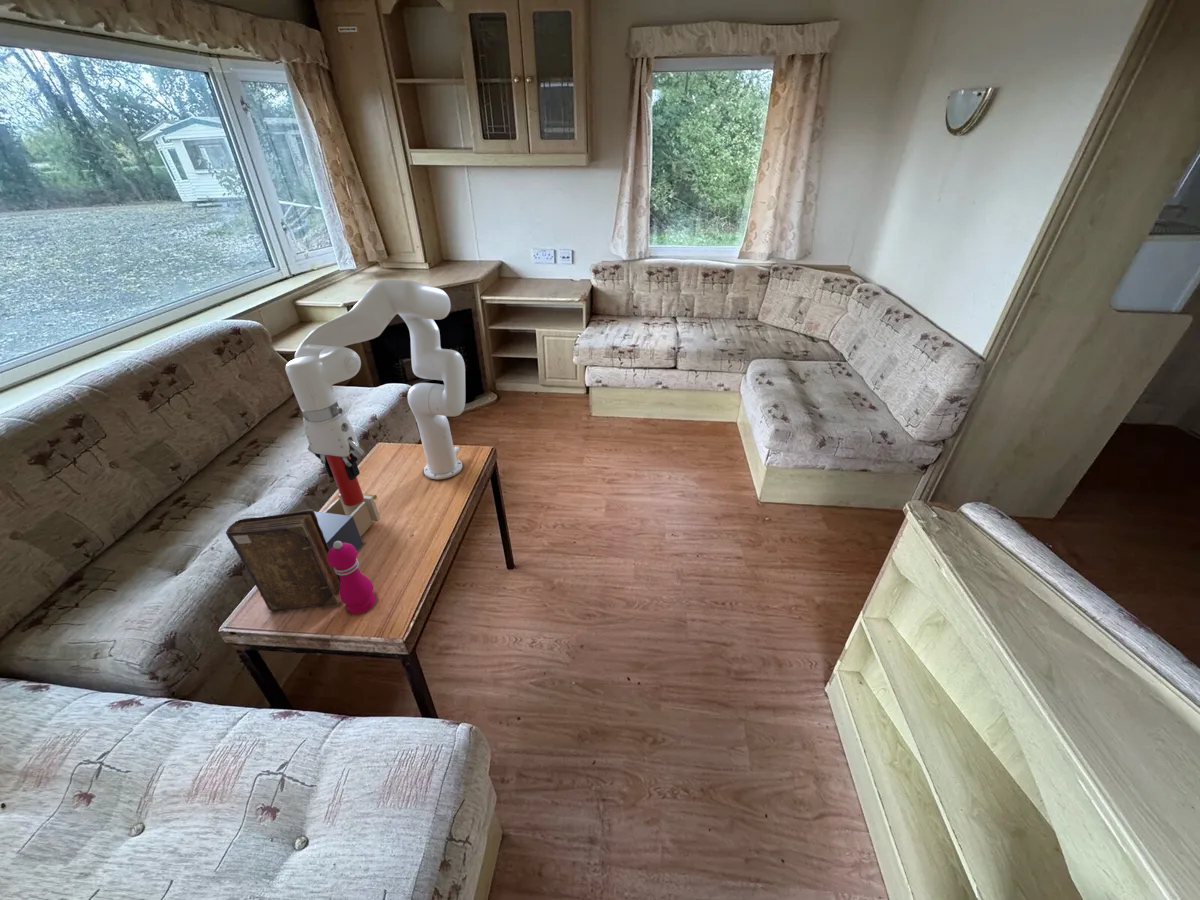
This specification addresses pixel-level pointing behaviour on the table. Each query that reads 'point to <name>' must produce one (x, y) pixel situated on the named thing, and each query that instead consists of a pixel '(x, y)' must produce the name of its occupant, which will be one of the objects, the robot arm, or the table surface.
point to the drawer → (357, 511)
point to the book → (287, 559)
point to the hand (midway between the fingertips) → (344, 475)
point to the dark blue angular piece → (339, 529)
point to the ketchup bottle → (345, 481)
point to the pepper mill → (351, 578)
